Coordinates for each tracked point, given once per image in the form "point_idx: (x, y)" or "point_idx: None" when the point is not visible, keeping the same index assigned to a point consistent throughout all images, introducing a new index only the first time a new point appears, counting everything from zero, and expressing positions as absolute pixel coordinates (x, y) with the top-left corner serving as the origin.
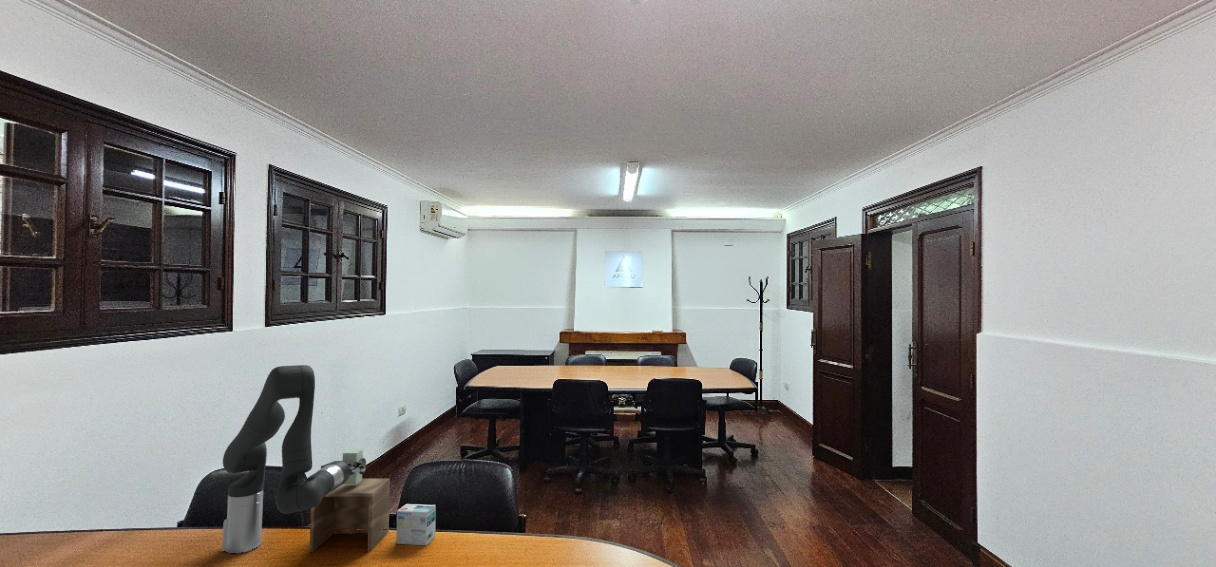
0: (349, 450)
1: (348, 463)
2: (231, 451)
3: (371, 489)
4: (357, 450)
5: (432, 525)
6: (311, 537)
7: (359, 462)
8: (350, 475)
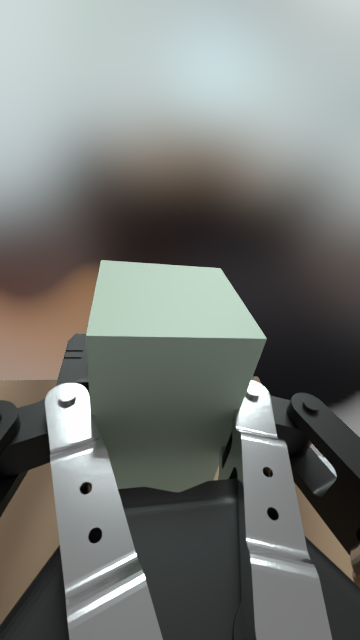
0: (119, 277)
1: (308, 597)
2: None
3: (307, 535)
4: (196, 281)
5: None
6: None
7: (272, 417)
8: (168, 486)
